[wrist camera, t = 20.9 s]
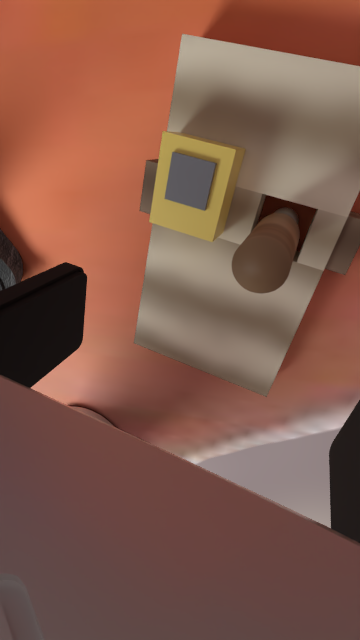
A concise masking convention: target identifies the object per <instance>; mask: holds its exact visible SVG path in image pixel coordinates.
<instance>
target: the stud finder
mask: <svg viewBox="0 0 360 640" xmlns="http://www.w3.org/2000/svg"><path fill="white" fill-rule="evenodd" d="M245 150H246V149H245V148H241V147H237V146H233V145H229V144H225V143H221V142H217V141H213V140H209V139H205V138H201V137H197V136H193V135H189V134H185V133H181V132H168V131H163V133H162V140H161V147H160V153H159V160H158V166H157V173H156V180H155V186H154V193H153V200H152V206H151V213H150V220H149V222H150V223H154V224H157V225H160V226H163V227H166V228H169V229H172V230H176V231H179V232H182V233H185V234H188V235H191V236H194V237H198V238H201V239H204V240H207V241H210V242H213V241H214V240H216V239H217V238H218V237H219V236H220V235H221V234H222V233H223V232H224V228H225V224H226V220H227V217H228V213H229V209H230V206H231V202H232V198H233V194H234V191H235V187H236V183H237V179H238V176H239V172H240V168H241V165H242V161H243V157H244V153H245Z"/></svg>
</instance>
